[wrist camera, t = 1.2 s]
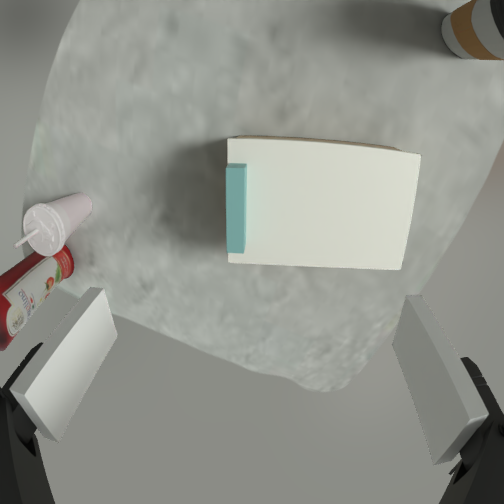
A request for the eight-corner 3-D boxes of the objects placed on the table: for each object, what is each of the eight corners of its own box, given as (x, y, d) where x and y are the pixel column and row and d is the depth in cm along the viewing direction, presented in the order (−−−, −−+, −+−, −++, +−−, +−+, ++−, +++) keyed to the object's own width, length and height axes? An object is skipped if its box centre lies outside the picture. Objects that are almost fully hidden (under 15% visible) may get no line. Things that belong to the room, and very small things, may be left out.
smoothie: (67, 177, 38) (-1, 211, 25) (104, 191, 38) (39, 231, 26) (62, 218, 40) (0, 262, 28) (97, 233, 41) (39, 283, 28)
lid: (228, 138, 28) (223, 141, 26) (417, 153, 27) (431, 159, 25) (229, 259, 34) (225, 274, 31) (398, 266, 33) (407, 281, 30)
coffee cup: (466, 79, 28) (545, 80, 15) (421, 30, 26) (490, 3, 13) (493, 44, 25) (568, 36, 12) (451, -3, 23) (518, -33, 10)
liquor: (81, 280, 45) (-25, 411, 20) (47, 270, 45) (-60, 384, 20) (77, 237, 42) (-55, 363, 16) (41, 230, 42) (-87, 336, 16)
